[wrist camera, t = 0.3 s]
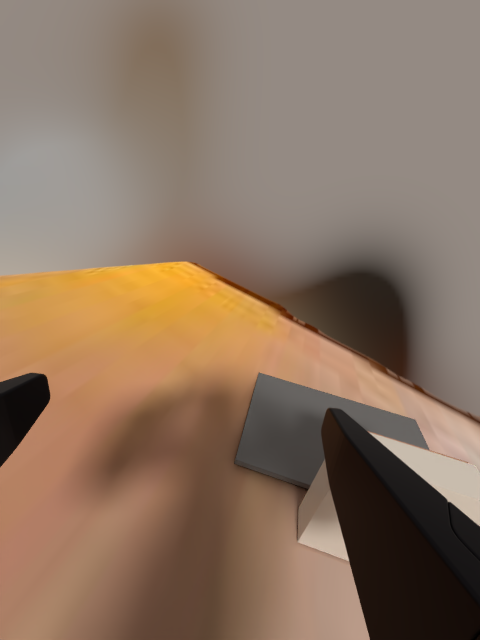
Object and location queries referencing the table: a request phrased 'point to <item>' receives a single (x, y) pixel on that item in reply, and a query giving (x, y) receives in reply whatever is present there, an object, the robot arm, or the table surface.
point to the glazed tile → (437, 469)
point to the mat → (305, 429)
